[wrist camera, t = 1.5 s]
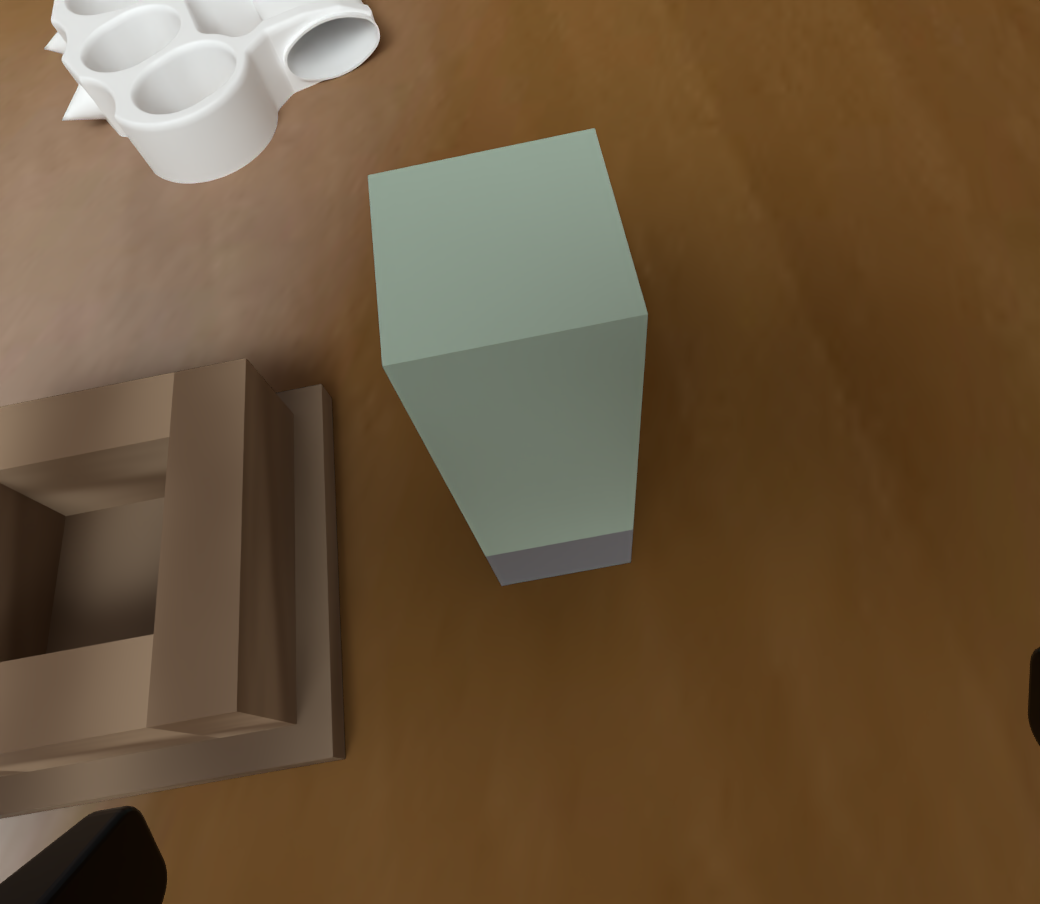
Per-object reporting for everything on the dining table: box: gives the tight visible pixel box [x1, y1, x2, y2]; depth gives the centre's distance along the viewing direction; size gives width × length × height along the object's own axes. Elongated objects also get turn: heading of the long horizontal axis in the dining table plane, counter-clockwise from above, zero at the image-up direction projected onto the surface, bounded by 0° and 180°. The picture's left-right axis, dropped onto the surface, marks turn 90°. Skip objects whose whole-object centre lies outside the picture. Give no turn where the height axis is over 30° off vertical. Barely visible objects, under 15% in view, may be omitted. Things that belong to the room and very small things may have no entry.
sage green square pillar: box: [368, 128, 648, 586], centre depth 17 cm, size 4×4×12 cm
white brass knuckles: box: [44, 0, 380, 183], centre depth 34 cm, size 3×18×15 cm
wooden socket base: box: [0, 358, 345, 819], centre depth 21 cm, size 18×12×4 cm, turn 99°
